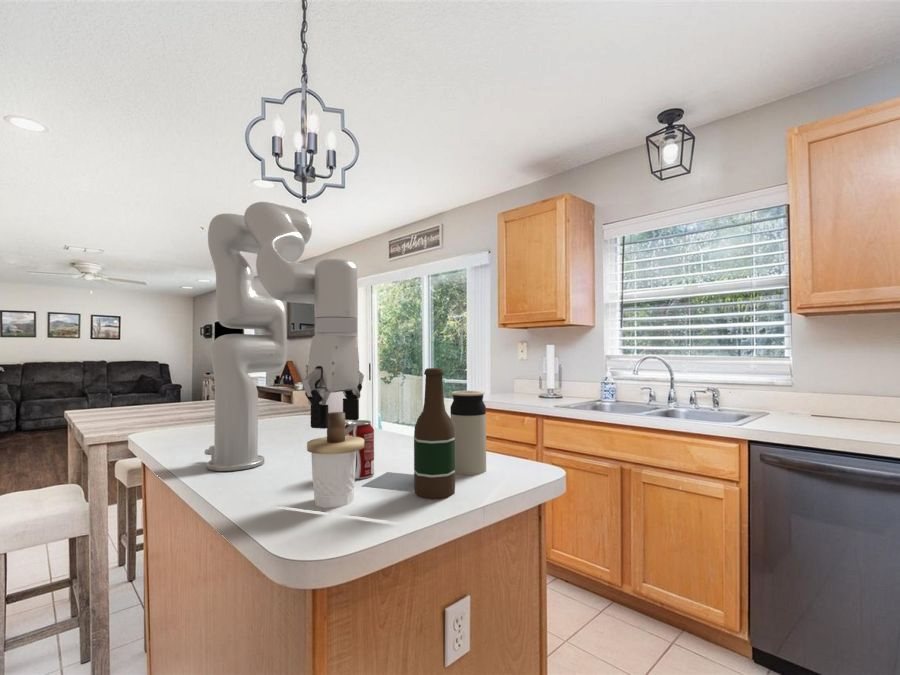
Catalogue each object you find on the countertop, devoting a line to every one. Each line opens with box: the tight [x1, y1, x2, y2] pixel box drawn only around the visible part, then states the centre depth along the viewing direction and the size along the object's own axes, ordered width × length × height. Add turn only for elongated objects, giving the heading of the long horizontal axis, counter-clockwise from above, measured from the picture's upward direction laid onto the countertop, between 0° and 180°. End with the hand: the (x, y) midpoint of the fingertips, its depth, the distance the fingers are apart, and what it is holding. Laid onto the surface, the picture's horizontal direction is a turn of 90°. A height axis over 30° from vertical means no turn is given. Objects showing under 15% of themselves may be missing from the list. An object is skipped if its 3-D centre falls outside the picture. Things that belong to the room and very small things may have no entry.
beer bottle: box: [413, 367, 456, 501], centre depth 87 cm, size 8×8×24 cm
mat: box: [361, 471, 415, 493], centre depth 94 cm, size 11×11×1 cm
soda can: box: [345, 419, 375, 481], centre depth 99 cm, size 7×7×12 cm
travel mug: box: [449, 390, 487, 476], centre depth 103 cm, size 8×8×18 cm
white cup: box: [311, 451, 356, 509], centre depth 82 cm, size 8×8×10 cm
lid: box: [306, 411, 364, 454], centre depth 82 cm, size 10×10×6 cm
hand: (336, 423), depth 82 cm, fingers open, 9 cm apart
